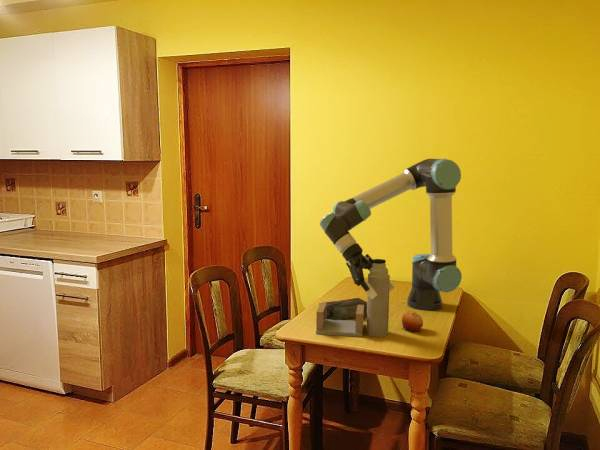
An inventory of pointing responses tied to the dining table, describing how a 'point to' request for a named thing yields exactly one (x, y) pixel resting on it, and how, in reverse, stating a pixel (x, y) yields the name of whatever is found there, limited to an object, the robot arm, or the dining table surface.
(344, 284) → the dining table surface
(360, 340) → the dining table surface
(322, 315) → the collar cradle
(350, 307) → the beverage carton
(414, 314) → the fruit
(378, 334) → the thermos bottle
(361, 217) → the robot arm
